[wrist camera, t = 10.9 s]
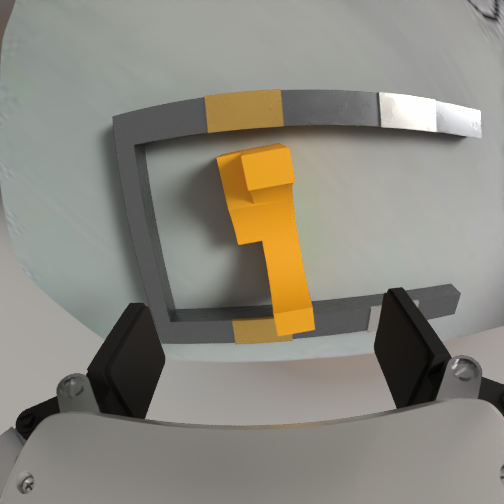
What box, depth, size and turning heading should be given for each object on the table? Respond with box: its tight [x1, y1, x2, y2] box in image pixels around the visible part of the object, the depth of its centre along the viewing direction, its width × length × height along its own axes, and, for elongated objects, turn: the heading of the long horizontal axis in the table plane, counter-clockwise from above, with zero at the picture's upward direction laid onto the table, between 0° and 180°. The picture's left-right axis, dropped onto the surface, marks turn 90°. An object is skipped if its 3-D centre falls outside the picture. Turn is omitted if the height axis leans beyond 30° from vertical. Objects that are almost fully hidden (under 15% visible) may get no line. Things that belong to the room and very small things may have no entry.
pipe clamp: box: [217, 143, 315, 336], centre depth 20 cm, size 12×4×6 cm, turn 11°
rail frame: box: [112, 89, 481, 344], centre depth 22 cm, size 30×20×2 cm
